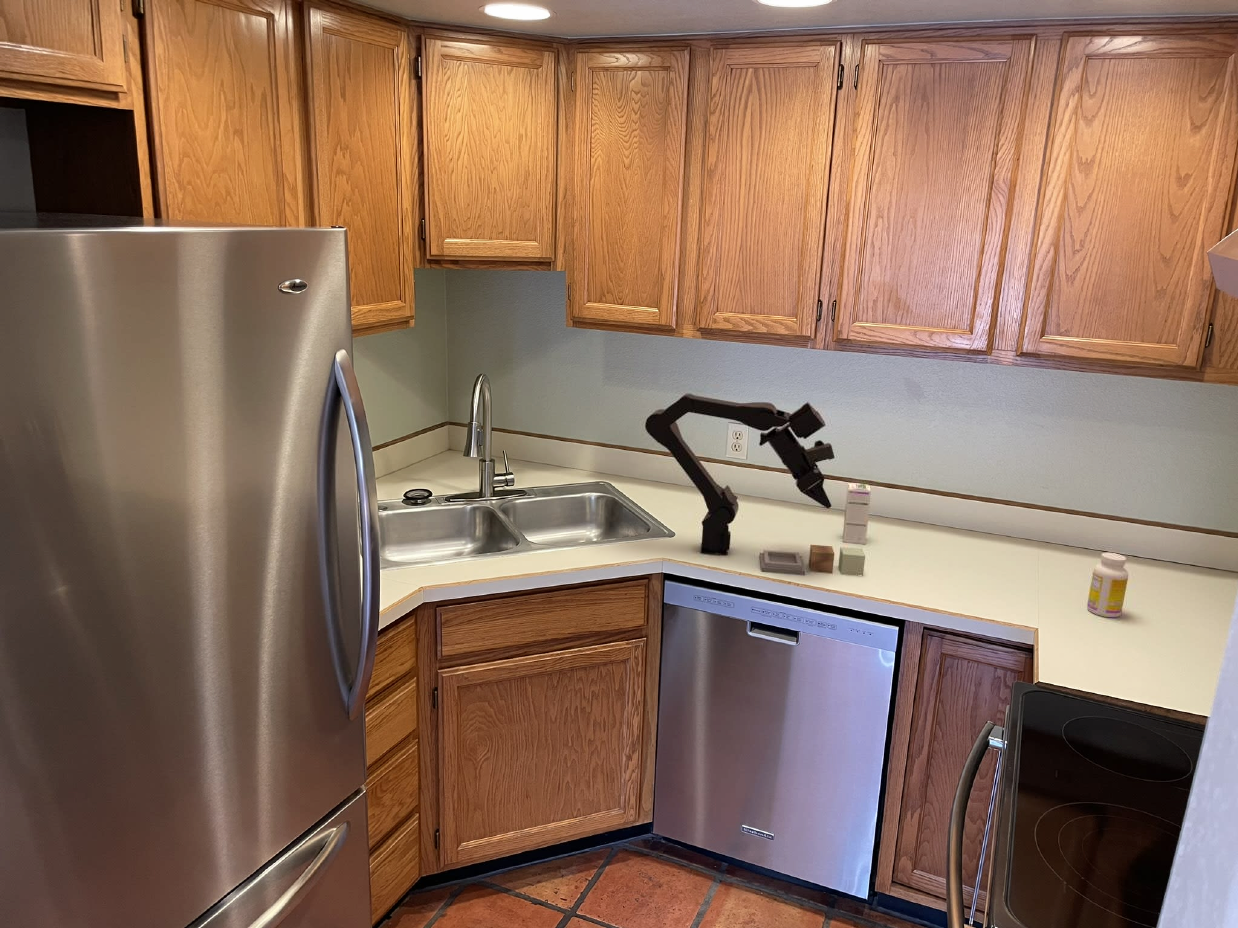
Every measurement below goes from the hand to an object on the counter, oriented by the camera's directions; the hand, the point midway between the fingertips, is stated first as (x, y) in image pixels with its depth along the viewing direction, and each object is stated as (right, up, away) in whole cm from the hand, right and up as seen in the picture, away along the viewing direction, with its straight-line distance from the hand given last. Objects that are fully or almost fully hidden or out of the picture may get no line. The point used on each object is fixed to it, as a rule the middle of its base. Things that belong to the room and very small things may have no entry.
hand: (827, 503), depth 214 cm
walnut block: (-2, -15, +1) cm, 16 cm away
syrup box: (+12, -11, +22) cm, 27 cm away
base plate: (-10, -15, +2) cm, 18 cm away
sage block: (+5, -16, 0) cm, 17 cm away
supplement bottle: (+56, -23, -17) cm, 63 cm away
